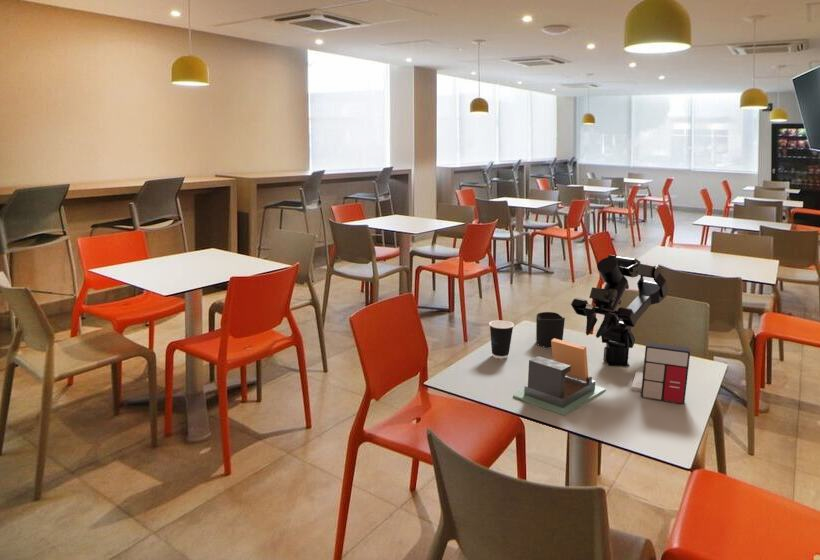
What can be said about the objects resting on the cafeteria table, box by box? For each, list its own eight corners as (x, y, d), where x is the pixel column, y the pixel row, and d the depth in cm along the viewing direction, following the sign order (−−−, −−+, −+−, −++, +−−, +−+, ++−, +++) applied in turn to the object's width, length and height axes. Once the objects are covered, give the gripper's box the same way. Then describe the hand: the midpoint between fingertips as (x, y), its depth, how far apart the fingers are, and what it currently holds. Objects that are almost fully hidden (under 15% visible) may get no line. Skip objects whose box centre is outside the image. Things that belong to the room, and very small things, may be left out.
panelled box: (640, 398, 168) (645, 346, 165) (641, 392, 172) (646, 341, 169) (684, 405, 164) (690, 352, 160) (684, 399, 168) (690, 347, 164)
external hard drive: (664, 381, 182) (661, 396, 171) (635, 376, 185) (630, 391, 174) (665, 376, 181) (662, 391, 170) (635, 371, 185) (631, 386, 174)
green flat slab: (555, 375, 184) (555, 373, 184) (605, 390, 173) (605, 388, 173) (512, 397, 169) (513, 395, 169) (564, 415, 158) (564, 413, 158)
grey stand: (557, 377, 181) (559, 344, 178) (594, 389, 173) (597, 354, 170) (524, 394, 169) (525, 359, 167) (562, 408, 161) (565, 371, 158)
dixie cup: (516, 354, 201) (517, 322, 199) (507, 362, 194) (509, 329, 192) (493, 350, 205) (494, 318, 202) (484, 357, 198) (485, 325, 196)
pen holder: (565, 341, 214) (567, 314, 211) (559, 350, 206) (561, 321, 203) (538, 337, 218) (540, 310, 215) (532, 346, 209) (533, 317, 207)
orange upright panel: (557, 370, 178) (553, 338, 174) (588, 380, 171) (586, 346, 167) (554, 373, 177) (551, 340, 173) (585, 383, 170) (583, 349, 166)
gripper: (576, 271, 185) (554, 314, 180) (635, 282, 173) (614, 328, 168) (587, 292, 193) (566, 334, 188) (645, 304, 180) (625, 348, 175)
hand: (591, 335), depth 179 cm, fingers open, 3 cm apart
